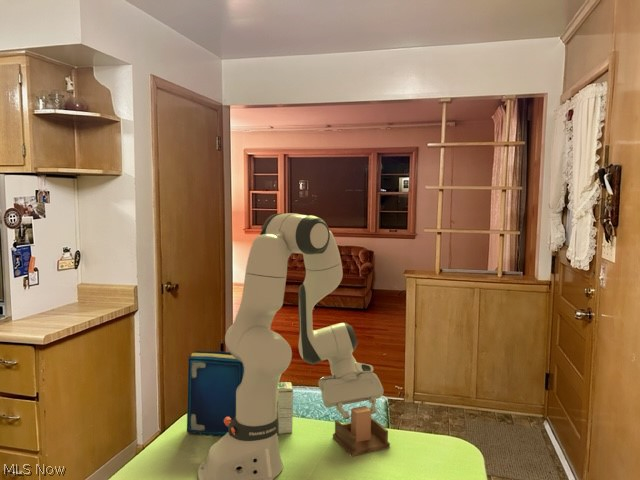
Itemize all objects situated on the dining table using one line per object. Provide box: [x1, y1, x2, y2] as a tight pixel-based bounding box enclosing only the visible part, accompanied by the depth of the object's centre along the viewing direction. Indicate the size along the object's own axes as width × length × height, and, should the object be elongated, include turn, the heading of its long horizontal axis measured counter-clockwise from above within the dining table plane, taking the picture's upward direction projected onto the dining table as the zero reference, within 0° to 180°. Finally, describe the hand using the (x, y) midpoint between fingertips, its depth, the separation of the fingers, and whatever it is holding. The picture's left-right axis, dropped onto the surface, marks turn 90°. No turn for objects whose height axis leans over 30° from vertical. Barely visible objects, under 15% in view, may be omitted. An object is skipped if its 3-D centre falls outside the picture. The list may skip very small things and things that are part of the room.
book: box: [186, 350, 244, 437], centre depth 142 cm, size 22×7×25 cm, turn 84°
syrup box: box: [277, 381, 294, 435], centre depth 144 cm, size 6×6×14 cm
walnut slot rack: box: [332, 416, 391, 457], centre depth 136 cm, size 13×12×5 cm
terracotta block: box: [350, 405, 372, 442], centre depth 136 cm, size 5×3×9 cm
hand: (360, 415), depth 136 cm, fingers open, 8 cm apart
